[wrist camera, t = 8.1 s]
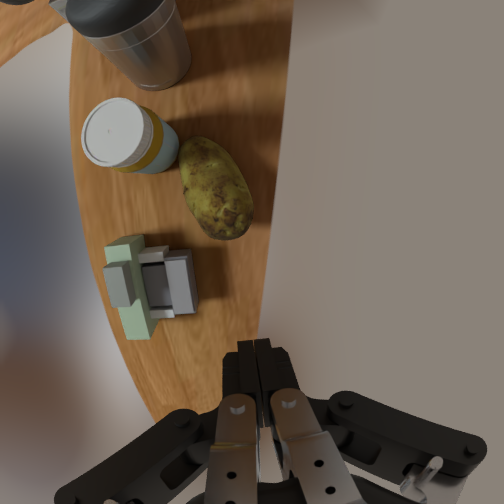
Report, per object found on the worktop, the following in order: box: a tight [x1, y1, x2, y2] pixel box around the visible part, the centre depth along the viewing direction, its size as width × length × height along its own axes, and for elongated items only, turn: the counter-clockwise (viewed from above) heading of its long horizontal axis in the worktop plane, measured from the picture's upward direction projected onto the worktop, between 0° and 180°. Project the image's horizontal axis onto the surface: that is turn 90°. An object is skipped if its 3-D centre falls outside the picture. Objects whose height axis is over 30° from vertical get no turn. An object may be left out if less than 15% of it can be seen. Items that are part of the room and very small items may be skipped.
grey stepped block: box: [142, 249, 199, 314], centre depth 36 cm, size 8×6×4 cm
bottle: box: [81, 98, 179, 174], centre depth 27 cm, size 7×7×15 cm
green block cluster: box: [103, 235, 176, 340], centre depth 34 cm, size 13×7×8 cm, turn 5°
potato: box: [178, 136, 254, 240], centre depth 32 cm, size 8×13×8 cm, turn 6°
